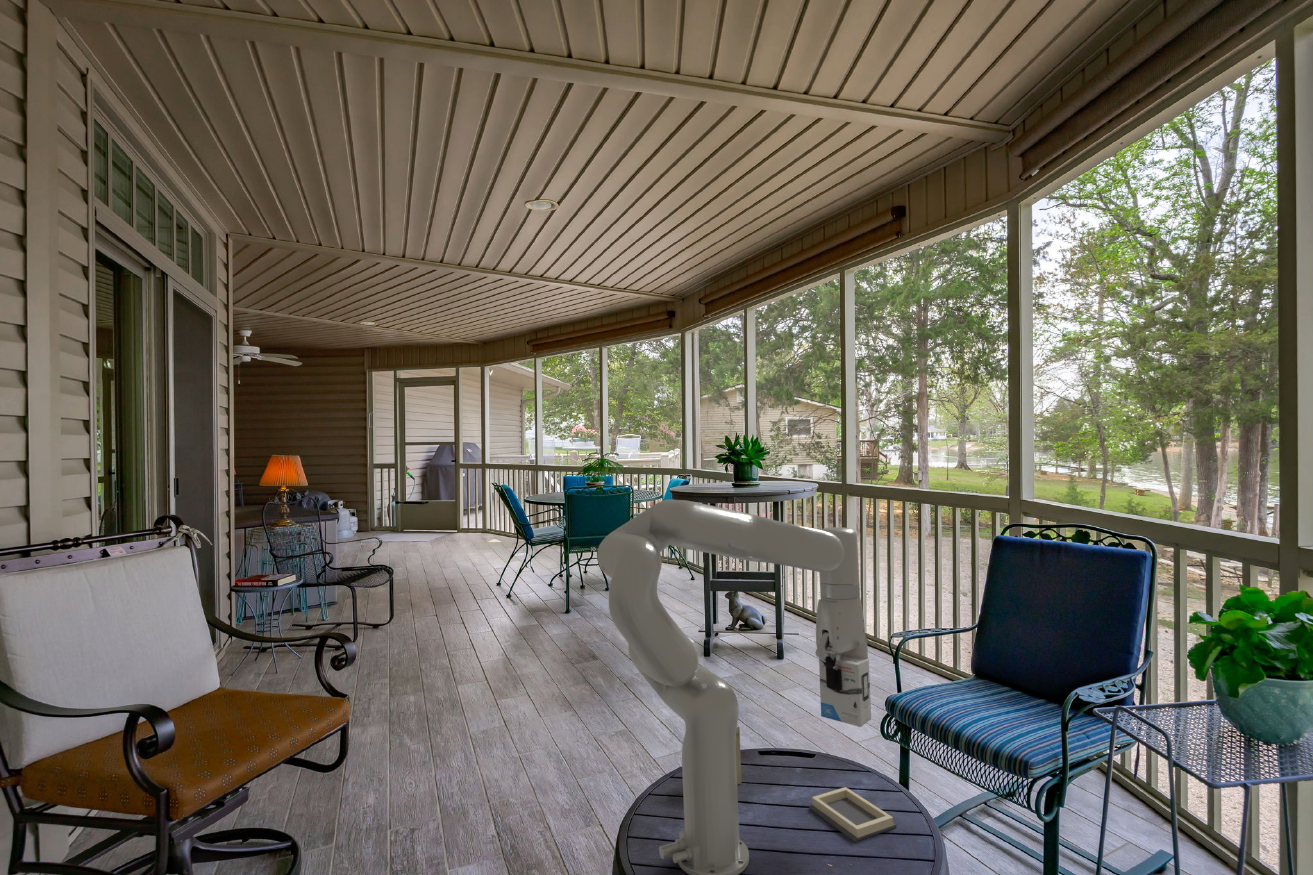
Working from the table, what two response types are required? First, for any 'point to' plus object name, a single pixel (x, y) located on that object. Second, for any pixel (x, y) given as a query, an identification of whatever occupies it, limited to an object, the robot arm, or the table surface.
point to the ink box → (848, 689)
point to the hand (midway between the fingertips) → (844, 684)
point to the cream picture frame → (851, 814)
